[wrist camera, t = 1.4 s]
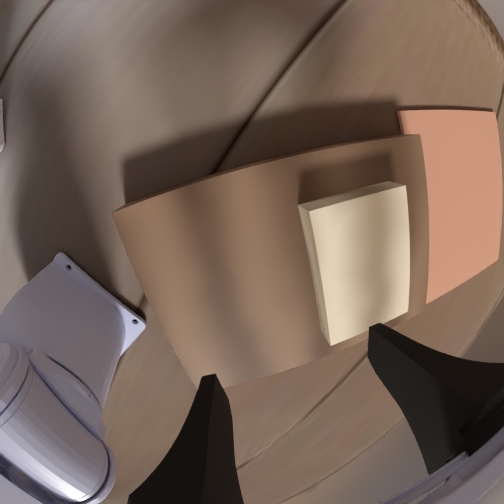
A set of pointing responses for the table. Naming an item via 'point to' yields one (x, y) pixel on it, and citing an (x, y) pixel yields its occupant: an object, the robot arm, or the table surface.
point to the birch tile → (358, 257)
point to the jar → (1, 127)
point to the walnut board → (260, 255)
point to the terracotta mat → (459, 192)
